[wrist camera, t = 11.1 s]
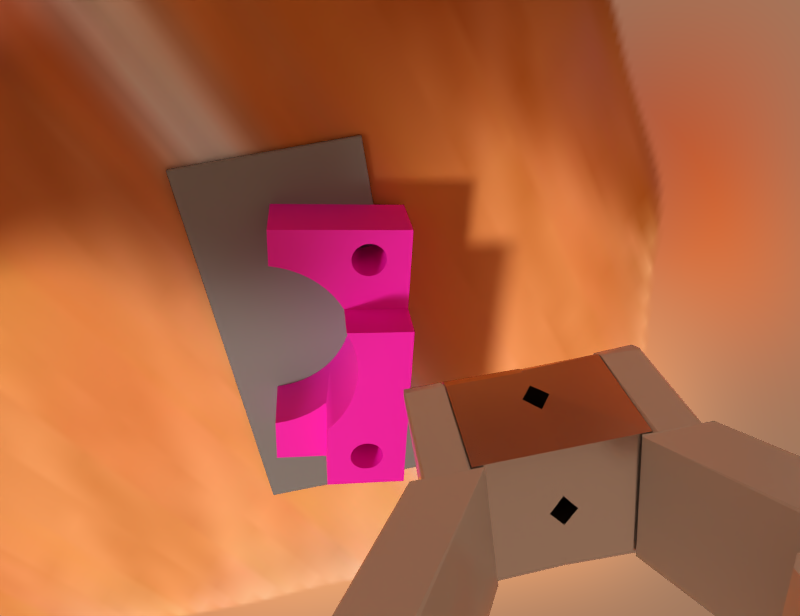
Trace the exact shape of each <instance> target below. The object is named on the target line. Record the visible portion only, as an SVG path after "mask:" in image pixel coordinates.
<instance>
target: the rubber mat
mask: <svg viewBox="0 0 800 616" xmlns="http://www.w3.org/2000/svg"><path fill="white" fill-rule="evenodd" d="M166 172H167V175H168V179H169V182H170V185H171V188H172V191H173V194H174V197H175V200H176V203H177V206H178V209H179V212H180V215H181V218H182V221H183V224H184V227H185V230H186V233H187V236H188V239H189V242H190V245H191V248H192V251H193V254H194V257H195V260H196V263H197V266H198V269H199V272H200V275H201V278H202V281H203V284H204V287H205V290H206V293H207V296H208V299H209V302H210V305H211V308H212V311H213V314H214V317H215V320H216V323H217V326H218V329H219V332H220V335H221V338H222V341H223V344H224V347H225V350H226V353H227V356H228V359H229V362H230V365H231V368H232V371H233V374H234V377H235V380H236V383H237V386H238V389H239V392H240V395H241V398H242V401H243V404H244V407H245V410H246V413H247V416H248V419H249V422H250V425H251V428H252V431H253V434H254V437H255V440H256V443H257V446H258V449H259V452H260V455H261V458H262V461H263V464H264V467H265V470H266V473H267V476H268V479H269V482H270V485H271V488H272V491H273V494H274V495H276V494H281V493H286V492H291V491H296V490H301V489H306V488H311V487H316V486H321V485H326V484H327V461H326V456H306V457H283V458H277V447H276V425H275V422H276V404H277V387H278V386H281V385H287V384H291V383H295V382H298V381H300V380H303V379H305V378H307V377H310V376H311V375H313V374H315V373H317V372H318V371H320V370H321V369H322V368H324V367H325V366H326V365H327V364H328V363H329V362H330V361H331V360H332V359H333V358H334V357H335V356H336V355H337V353H338V352H339V350H340V349H341V347H342V345H343V344H344V342H345V339H346V337H347V332H346V323H345V313H344V309H343V307H342V306H341V304H340V303H339V302H338V301H337V300H336V298H335V297H334V296H333V295H332V294H331V293H330V292H328V291H327V290H326V289H325V288H324V287H322V286H321V285H320V284H318V283H317V282H315V281H313V280H311V279H310V278H308V277H306V276H303V275H301V274H299V273H296V272H293V271H290V270H286V269H282V268H277V267H270V266H268V253H267V231H266V229H267V221H268V213H269V205H270V204H358V205H373V200H372V194H371V188H370V183H369V177H368V171H367V165H366V160H365V154H364V148H363V142H362V137H361V135H357V136H352V137H346V138H340V139H335V140H329V141H324V142H318V143H312V144H307V145H301V146H296V147H290V148H284V149H279V150H273V151H268V152H262V153H256V154H251V155H245V156H239V157H234V158H228V159H223V160H217V161H211V162H206V163H200V164H195V165H189V166H183V167H178V168H172V169H167V170H166ZM372 245H373V244H365V245H362V246H360V247H361V248H365V247H369V246H372ZM412 467H416V463H415V457H414V452H413V446H412V440H411V435H410V429H409V423H408V427H407V441H406V454H405V467H404V469H407V468H412Z"/></svg>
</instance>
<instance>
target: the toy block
mask: <svg viewBox="0 0 800 616" xmlns="http://www.w3.org/2000/svg"><path fill="white" fill-rule="evenodd" d="M266 231H267V253H268V266H270V267H277V268H282V269H286V270H290V271H293V272H296V273H299V274H301V275H303V276H306V277H308V278H310V279H311V280H313V281H315V282H317V283H318V284H320V285H321V286H322V287H324V288H325V289H326V290H327V291H328V292H330V293H331V294H332V295H333V296H334V297H335V298H336V300H337V301H338V302H339V303H340V304H341V306H342V307H343V309H344V313H345V323H346V332H347V337H346V339H345V342H344V344H343V345H342V347H341V349H340V350H339V352H338V353H337V355H336V356H335V357H334V358H333V359H332V360H331V361H330V362H329V363H328V364H327V365H326V366H325V367H324V368H322V369H321V370H320V371H318V372H317V373H315V374H313V375H311V376H310V377H307V378H305V379H303V380H300V381H298V382H295V383H291V384H287V385H281V386H278V387H277V404H276V422H275V425H276V447H277V458H283V457H306V456H326V461H327V484H347V483H367V482H387V481H403V480H404V467H405V454H406V441H407V427H408V418H407V412H406V406H405V401H404V389H409V388H411V374H412V361H413V348H414V335H415V331H414V328H413V324H412V321H411V317H410V314H409V310H408V303H409V289H410V274H411V259H412V245H413V228H412V225H411V222H410V219H409V217H408V214H407V211H406V209H405V206H404V205H358V204H270V205H269V213H268V221H267V229H266ZM365 244H373V245H372V246H369V247H365V248H361V247H360V246H362V245H365Z"/></svg>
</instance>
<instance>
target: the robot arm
mask: <svg viewBox="0 0 800 616" xmlns="http://www.w3.org/2000/svg"><path fill="white" fill-rule="evenodd" d="M404 401H405V406H406V412H407V418H408V423H409V429H410V435H411V440H412V446H413V452H414V457H415V463H416V469H417V474H418V480H416V481H411V482H409V484H408V485H407V487H406V489H405V491H404V492H403V494H402V496H401V498H400V499H399V501H398V503H397V505H396V506H395V508H394V510H393V511H392V513H391V515H390V517H389V518H388V520H387V522H386V524H385V525H384V527H383V529H382V530H381V532H380V534H379V536H378V537H377V539H376V541H375V543H374V544H373V546H372V548H371V550H370V551H369V553H368V555H367V556H366V558H365V560H364V562H363V563H362V565H361V567H360V569H359V570H358V572H357V574H356V575H355V577H354V579H353V581H352V582H351V584H350V586H349V588H348V589H347V591H346V593H345V595H344V596H343V598H342V600H341V602H340V603H339V605H338V607H337V608H336V610H335V612H334V614H333V615H332V616H489V614H490V610H491V607H492V604H493V600H494V597H495V594H496V590H497V587H498V581H499V580H503V579H507V578H512V577H516V576H519V575H524V574H529V573H533V572H537V571H541V570H545V569H549V568H554V567H558V566H562V565H565V564H566V565H567V564H573V563H579V562H584V561H590V560H595V559H601V558H607V557H612V556H618V555H624V554H629V553H635V552H636V556H637V557H638V558H640V559H641V560H642V561H643V562H645V563H646V564H648V565H649V566H650V567H651V568H653V569H654V570H655V571H657V572H658V573H659V574H661V575H662V576H663V577H665V578H666V579H667V580H669V581H670V582H671V583H673V584H674V585H675V586H677V587H678V588H679V589H681V590H682V591H683V592H684V593H686V594H687V595H688V596H690V597H691V598H692V599H694V600H695V601H696V602H698V603H699V604H700V605H702V606H703V607H704V608H705V609H707V610H708V611H709V612H711V613H712V614H713V615H715V616H800V456H798V455H795V454H793V453H790V452H788V451H786V450H783V449H781V448H778V447H776V446H774V445H771V444H769V443H766V442H764V441H762V440H759V439H757V438H754V437H752V436H749V435H747V434H744V433H742V432H740V431H737V430H735V429H732V428H730V427H728V426H725V425H723V424H720V423H718V422H715V421H711V422H706V423H701V422H700V421H699V419H698V418H697V417H696V416H695V414H694V413H693V412H692V411H691V410H690V408H689V407H688V406H687V405H686V404H685V403H684V401H683V400H682V399H681V398H680V397H679V395H678V394H677V393H676V392H675V390H674V389H673V388H672V387H671V386H670V384H669V383H668V382H667V381H666V380H665V378H664V377H663V376H662V375H661V374H660V372H659V371H658V370H657V369H656V368H655V366H654V365H653V364H652V363H651V362H650V360H649V359H648V358H647V357H646V356H645V354H644V353H643V352H642V351H641V350H640V348H638V347H636V346H634V345H628V346H624V347H619V348H615V349H610V350H606V351H601V352H597V353H594V354H593V355H590V356H585V357H580V358H575V359H569V360H564V361H559V362H554V363H549V364H544V365H539V366H534V367H529V368H524V369H515V370H510V371H504V372H498V373H492V374H486V375H481V376H475V377H469V378H463V379H458V380H452V381H446V382H443V384H442V383H436V384H430V385H425V386H420V387H415V388H409V389H404Z"/></svg>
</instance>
